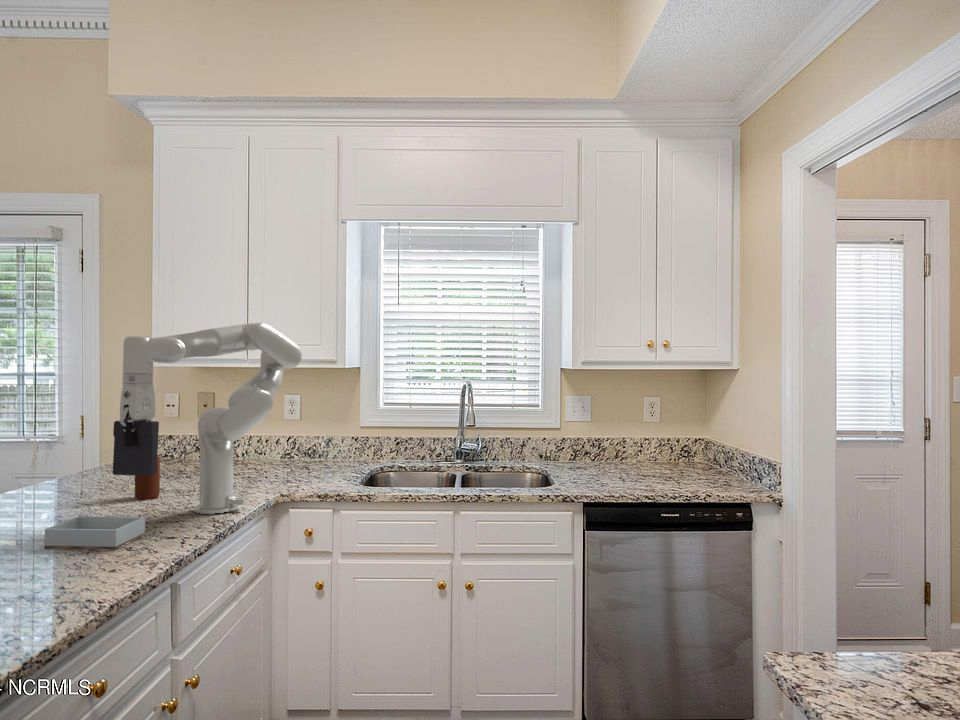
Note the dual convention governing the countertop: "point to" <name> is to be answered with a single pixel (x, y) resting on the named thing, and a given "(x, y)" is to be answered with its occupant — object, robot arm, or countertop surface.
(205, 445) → the robot arm
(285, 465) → the countertop surface
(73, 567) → the countertop surface
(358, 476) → the countertop surface
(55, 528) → the grey tray
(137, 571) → the countertop surface
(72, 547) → the pen board
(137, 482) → the bottle
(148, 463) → the tall charcoal block
